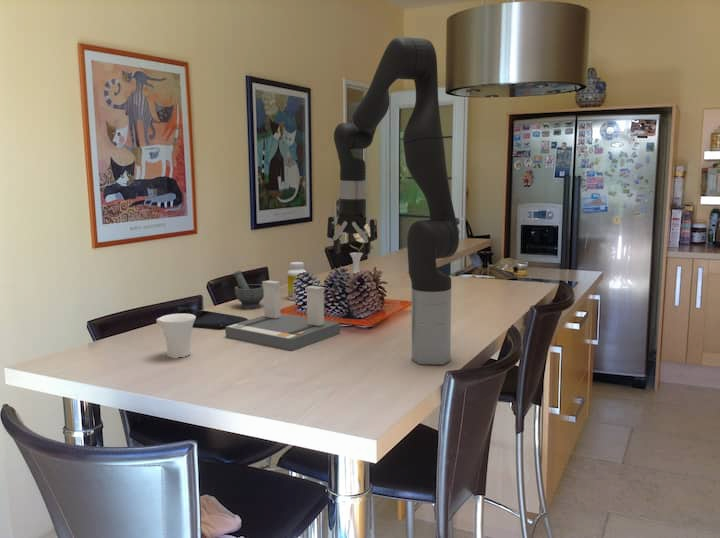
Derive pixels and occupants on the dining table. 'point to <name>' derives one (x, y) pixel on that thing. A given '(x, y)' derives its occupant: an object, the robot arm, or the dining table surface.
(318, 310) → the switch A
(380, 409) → the dining table surface
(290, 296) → the supplement bottle
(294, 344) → the grey flat block
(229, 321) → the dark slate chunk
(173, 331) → the cup
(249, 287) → the mortar and pestle
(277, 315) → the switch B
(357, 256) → the flower in vase
